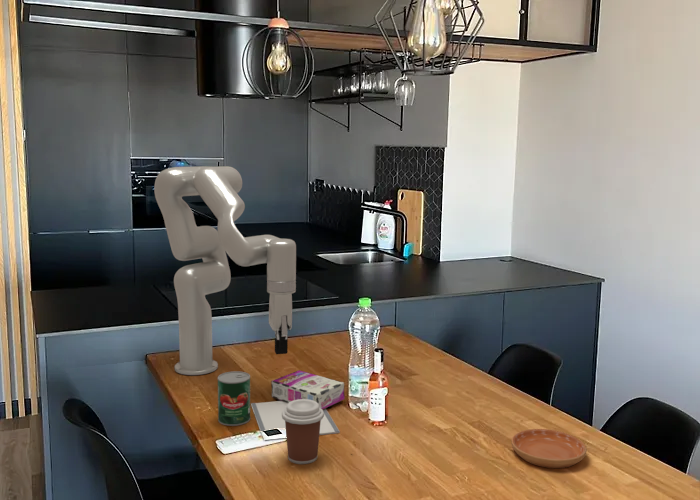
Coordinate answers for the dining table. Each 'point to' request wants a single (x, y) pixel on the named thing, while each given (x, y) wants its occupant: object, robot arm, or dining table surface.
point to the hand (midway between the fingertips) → (281, 352)
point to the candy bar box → (308, 388)
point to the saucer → (548, 448)
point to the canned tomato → (234, 398)
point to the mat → (271, 418)
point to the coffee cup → (302, 430)
